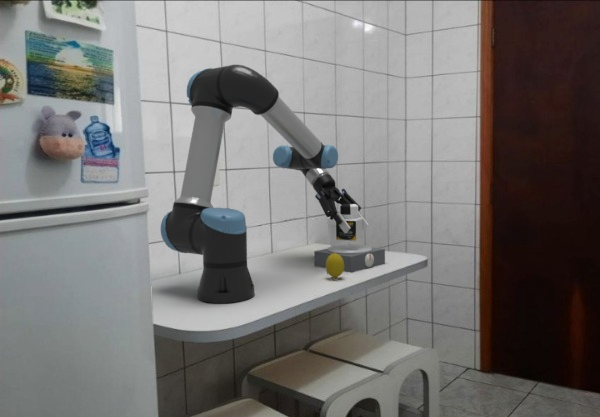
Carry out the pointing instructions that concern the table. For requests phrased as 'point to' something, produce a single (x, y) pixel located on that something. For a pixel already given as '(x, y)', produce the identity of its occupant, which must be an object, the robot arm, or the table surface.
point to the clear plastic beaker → (334, 233)
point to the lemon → (335, 265)
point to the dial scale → (352, 256)
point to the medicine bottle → (350, 223)
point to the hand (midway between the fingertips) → (357, 229)
